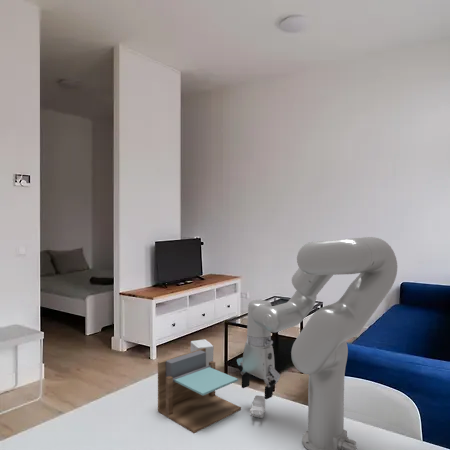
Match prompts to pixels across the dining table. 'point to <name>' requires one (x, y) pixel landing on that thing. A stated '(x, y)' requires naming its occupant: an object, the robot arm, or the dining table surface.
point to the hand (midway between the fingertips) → (256, 392)
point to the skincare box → (200, 345)
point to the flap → (197, 373)
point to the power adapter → (258, 407)
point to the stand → (190, 402)
